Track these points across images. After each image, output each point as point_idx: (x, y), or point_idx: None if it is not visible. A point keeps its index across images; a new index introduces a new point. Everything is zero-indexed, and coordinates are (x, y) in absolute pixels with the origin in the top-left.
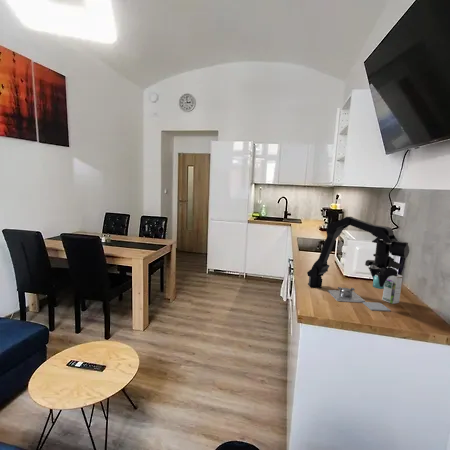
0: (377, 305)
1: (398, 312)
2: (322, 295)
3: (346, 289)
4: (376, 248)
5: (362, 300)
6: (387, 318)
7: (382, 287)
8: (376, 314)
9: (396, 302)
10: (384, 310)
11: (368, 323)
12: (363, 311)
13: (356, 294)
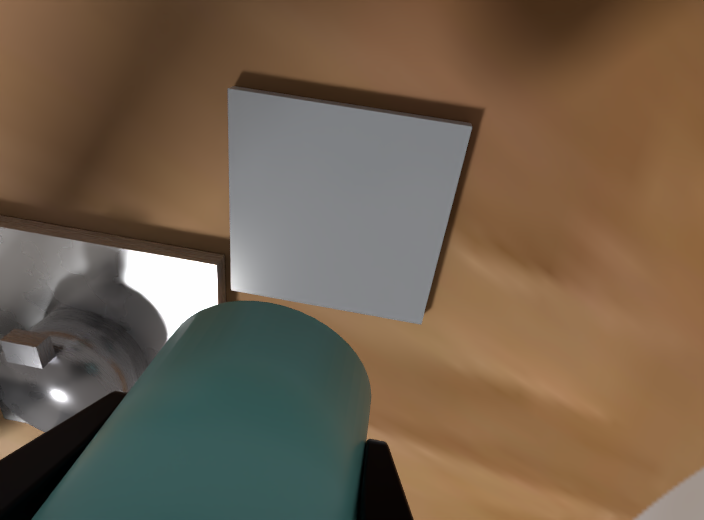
0: (322, 195)
1: (514, 22)
2: None
3: (49, 394)
4: None
5: (212, 288)
6: (625, 291)
7: (366, 405)
8: (515, 329)
9: None
10: (452, 198)
11: (650, 480)
12: (437, 390)
13: (31, 242)
